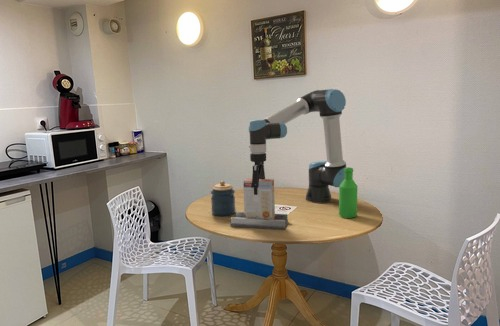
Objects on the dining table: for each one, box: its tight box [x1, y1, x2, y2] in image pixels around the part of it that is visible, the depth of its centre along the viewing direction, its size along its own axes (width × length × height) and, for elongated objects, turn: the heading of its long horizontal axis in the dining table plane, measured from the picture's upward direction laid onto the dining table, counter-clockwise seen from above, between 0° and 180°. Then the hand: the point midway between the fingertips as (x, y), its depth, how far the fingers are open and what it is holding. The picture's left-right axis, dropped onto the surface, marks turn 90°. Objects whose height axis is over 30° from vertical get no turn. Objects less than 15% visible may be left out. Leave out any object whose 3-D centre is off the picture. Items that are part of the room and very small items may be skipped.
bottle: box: [338, 167, 358, 219], centre depth 174 cm, size 9×9×25 cm
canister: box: [210, 180, 236, 217], centre depth 185 cm, size 13×13×18 cm
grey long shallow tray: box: [230, 211, 289, 231], centre depth 167 cm, size 26×12×4 cm, turn 76°
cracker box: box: [242, 178, 276, 220], centre depth 166 cm, size 14×6×21 cm, turn 73°
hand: (259, 197), depth 165 cm, fingers open, 11 cm apart
